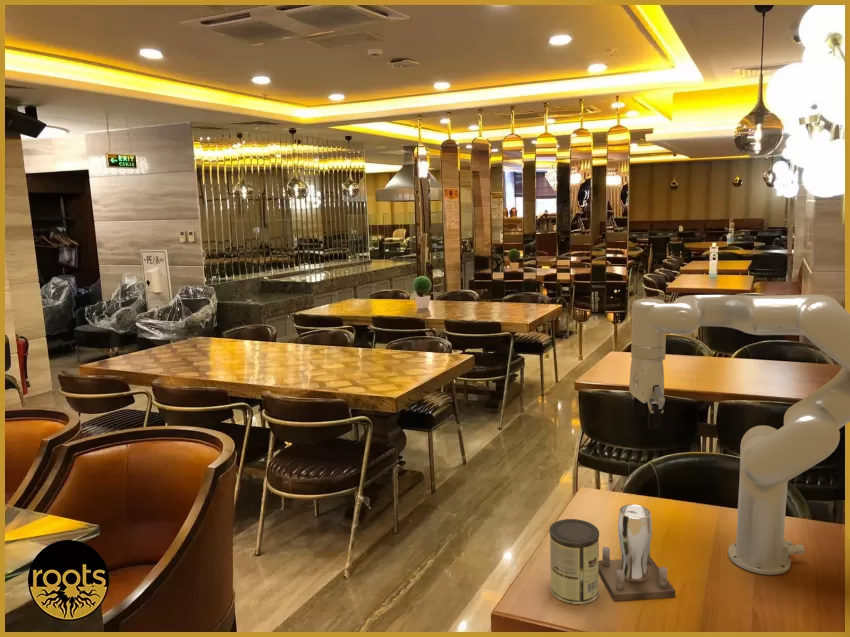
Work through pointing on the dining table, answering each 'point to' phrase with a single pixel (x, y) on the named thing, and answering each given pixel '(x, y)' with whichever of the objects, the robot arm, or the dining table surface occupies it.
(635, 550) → the beer glass
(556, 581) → the coffee can
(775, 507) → the robot arm
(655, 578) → the peg stand
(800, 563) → the dining table surface
